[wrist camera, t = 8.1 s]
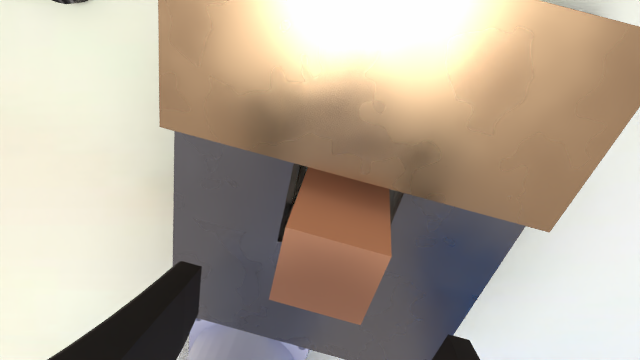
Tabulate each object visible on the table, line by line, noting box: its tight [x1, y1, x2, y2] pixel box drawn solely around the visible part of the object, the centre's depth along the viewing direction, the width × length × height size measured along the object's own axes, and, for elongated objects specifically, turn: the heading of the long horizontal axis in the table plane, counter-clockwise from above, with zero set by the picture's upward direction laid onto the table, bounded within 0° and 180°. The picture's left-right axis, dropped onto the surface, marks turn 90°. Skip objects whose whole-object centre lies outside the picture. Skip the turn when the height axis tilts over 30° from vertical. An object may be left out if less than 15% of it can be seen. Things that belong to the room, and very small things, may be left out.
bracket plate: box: [158, 0, 640, 360], centre depth 15 cm, size 18×14×5 cm
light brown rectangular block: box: [269, 167, 392, 325], centre depth 14 cm, size 3×3×7 cm
